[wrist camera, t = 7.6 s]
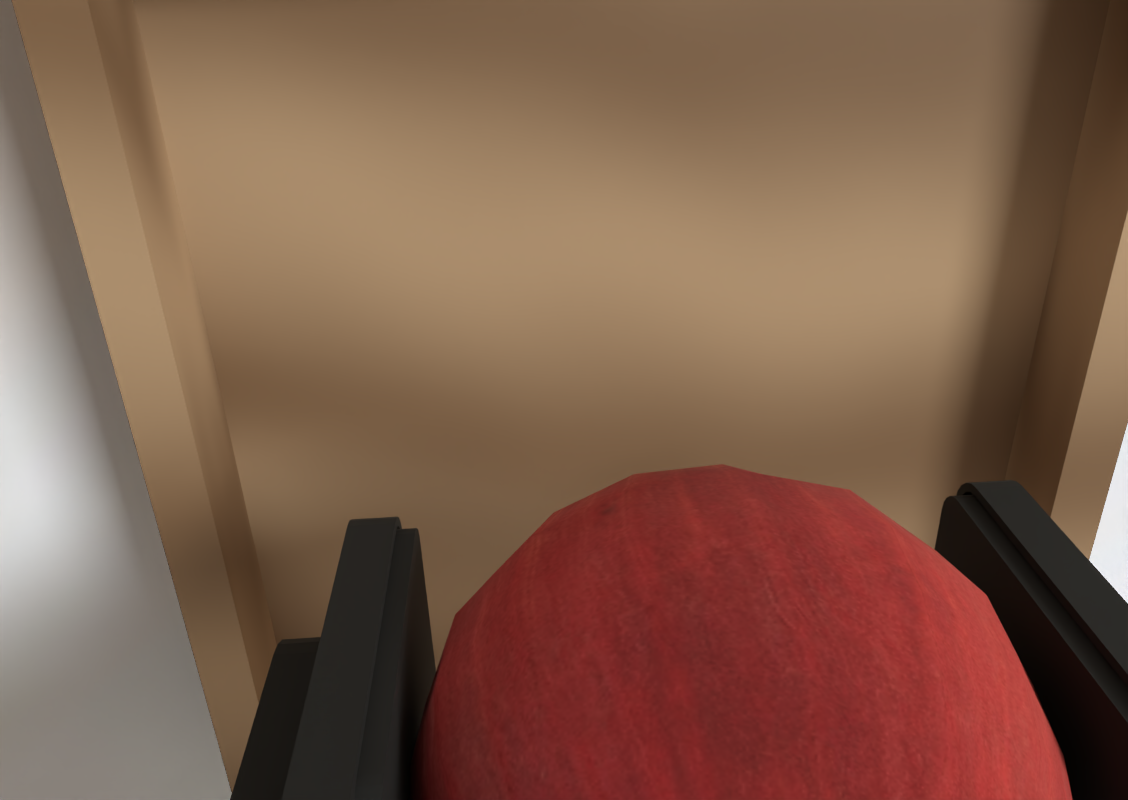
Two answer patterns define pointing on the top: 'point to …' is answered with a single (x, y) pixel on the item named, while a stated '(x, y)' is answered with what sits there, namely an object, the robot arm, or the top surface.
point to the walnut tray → (581, 268)
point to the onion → (730, 659)
